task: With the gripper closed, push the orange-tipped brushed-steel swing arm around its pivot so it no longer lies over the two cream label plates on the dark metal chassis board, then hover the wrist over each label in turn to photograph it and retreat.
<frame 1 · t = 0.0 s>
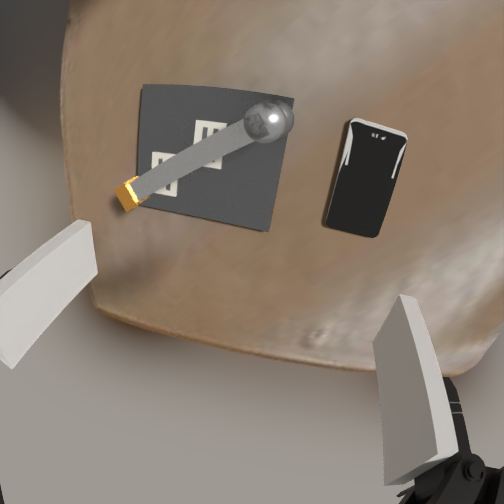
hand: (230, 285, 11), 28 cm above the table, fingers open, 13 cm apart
label a: (209, 144, 35), resting on chassis board
smartphone: (365, 178, 35), on the table
label b: (164, 173, 38), resting on chassis board
chassis board: (207, 152, 37), on the table
swing arm: (193, 157, 30), point 7 cm above the table, hinge at 0.0°
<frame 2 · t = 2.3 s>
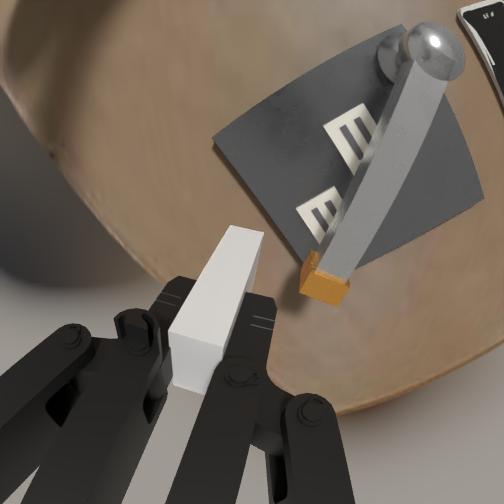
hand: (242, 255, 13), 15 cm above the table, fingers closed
label a: (361, 144, 22), resting on chassis board
label b: (331, 223, 26), resting on chassis board
chassis board: (362, 159, 24), on the table
swing arm: (385, 163, 17), point 7 cm above the table, hinge at 0.0°
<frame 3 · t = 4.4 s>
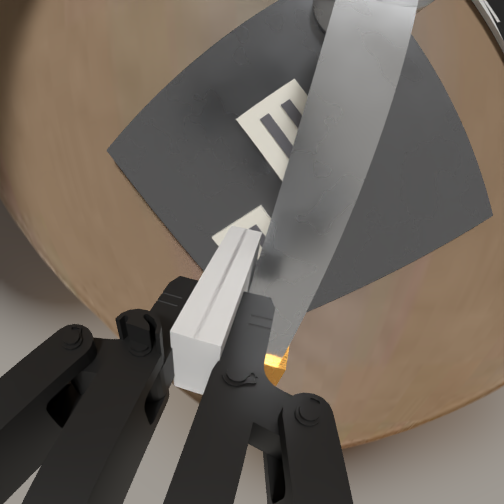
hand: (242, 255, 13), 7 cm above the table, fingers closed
label a: (297, 141, 15), resting on chassis board
label b: (263, 256, 19), resting on chassis board
chassis board: (305, 163, 17), on the table
swing arm: (320, 177, 10), point 7 cm above the table, hinge at 4.2°, touching gripper
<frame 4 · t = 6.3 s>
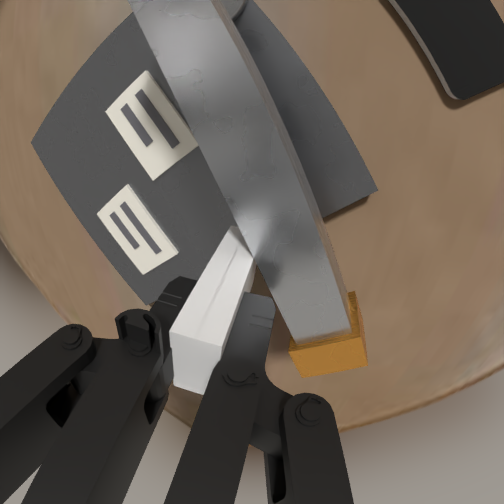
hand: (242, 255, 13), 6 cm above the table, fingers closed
label a: (150, 125, 16), resting on chassis board
label b: (136, 231, 20), resting on chassis board
chassis board: (166, 144, 18), on the table
swing arm: (244, 133, 10), point 7 cm above the table, hinge at 45.6°, touching gripper
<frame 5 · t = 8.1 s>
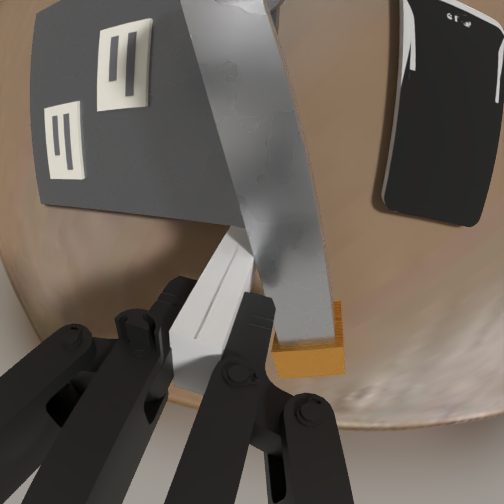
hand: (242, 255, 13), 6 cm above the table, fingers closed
label a: (123, 65, 14), resting on chassis board
smartphone: (446, 104, 13), on the table
label b: (64, 141, 18), resting on chassis board
chassis board: (126, 87, 16), on the table
swing arm: (266, 134, 10), point 7 cm above the table, hinge at 73.4°, touching gripper
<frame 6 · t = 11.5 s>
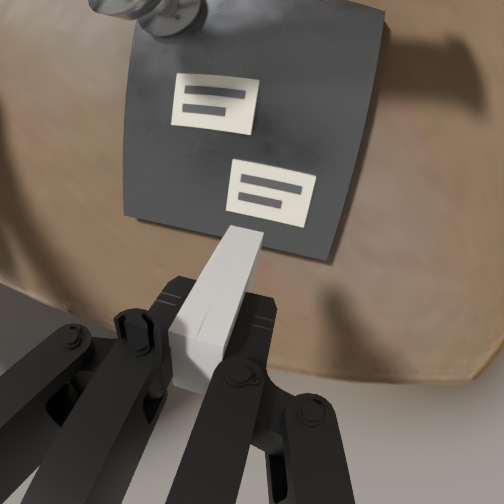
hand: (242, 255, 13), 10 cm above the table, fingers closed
label a: (213, 102, 18), resting on chassis board
label b: (269, 192, 21), resting on chassis board
chassis board: (237, 110, 20), on the table
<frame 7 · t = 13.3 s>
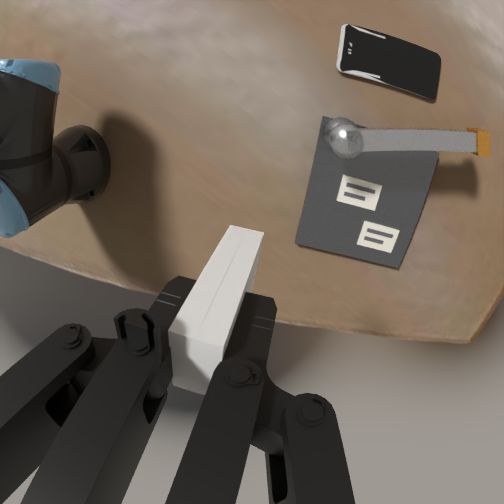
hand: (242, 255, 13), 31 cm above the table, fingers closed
label a: (359, 192, 40), resting on chassis board
smartphone: (389, 61, 31), on the table
label b: (378, 236, 42), resting on chassis board
chassis board: (366, 195, 41), on the table
swing arm: (414, 138, 29), point 7 cm above the table, hinge at 73.5°
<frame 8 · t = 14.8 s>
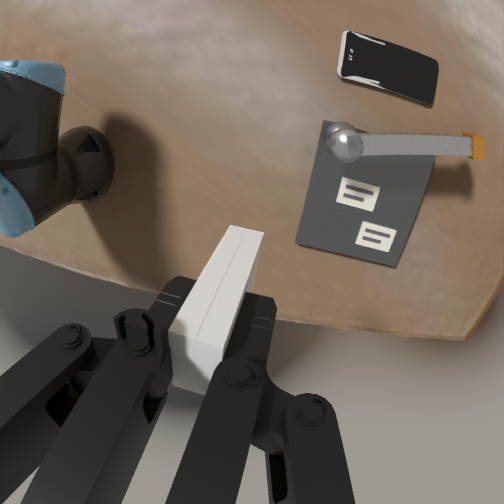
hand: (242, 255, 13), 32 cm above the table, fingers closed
label a: (358, 194, 41), resting on chassis board
smartphone: (388, 67, 32), on the table
label b: (375, 236, 44), resting on chassis board
chassis board: (364, 197, 42), on the table
swing arm: (412, 143, 30), point 7 cm above the table, hinge at 73.5°
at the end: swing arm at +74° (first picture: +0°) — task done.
